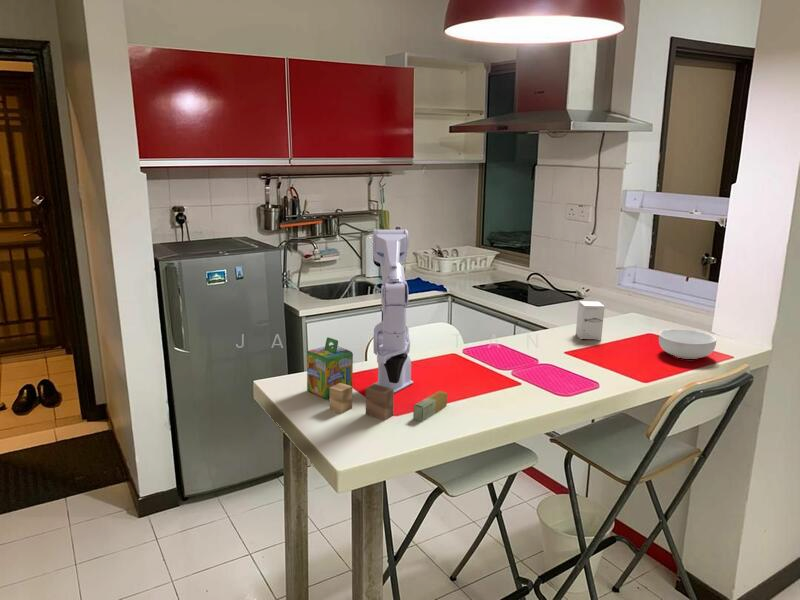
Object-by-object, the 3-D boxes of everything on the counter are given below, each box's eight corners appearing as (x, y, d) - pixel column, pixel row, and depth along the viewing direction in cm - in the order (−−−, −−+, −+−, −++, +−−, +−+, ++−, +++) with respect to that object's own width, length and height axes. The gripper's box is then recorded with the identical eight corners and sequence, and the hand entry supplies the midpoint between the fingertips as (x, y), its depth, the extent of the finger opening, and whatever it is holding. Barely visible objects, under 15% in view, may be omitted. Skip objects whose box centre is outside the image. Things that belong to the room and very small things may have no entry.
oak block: (340, 404, 155) (340, 382, 154) (352, 408, 153) (352, 386, 152) (329, 409, 152) (329, 387, 151) (341, 413, 150) (341, 391, 149)
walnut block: (374, 409, 153) (374, 383, 151) (393, 415, 149) (393, 389, 147) (365, 414, 150) (365, 388, 148) (384, 420, 146) (385, 393, 145)
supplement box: (580, 340, 211) (583, 305, 208) (575, 334, 218) (578, 300, 215) (601, 340, 210) (605, 305, 207) (595, 334, 217) (599, 300, 214)
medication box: (421, 422, 146) (422, 407, 145) (412, 419, 147) (412, 404, 146) (447, 406, 155) (448, 392, 154) (438, 403, 157) (439, 389, 156)
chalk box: (306, 391, 164) (304, 339, 160) (333, 382, 170) (332, 332, 167) (327, 400, 158) (326, 347, 154) (354, 391, 164) (353, 339, 160)
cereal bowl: (676, 345, 206) (679, 325, 205) (724, 359, 193) (727, 338, 191) (646, 353, 197) (648, 333, 196) (693, 368, 184) (696, 346, 182)
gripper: (393, 321, 157) (392, 370, 160) (365, 335, 145) (366, 388, 148) (417, 325, 154) (416, 375, 157) (392, 340, 142) (391, 393, 145)
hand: (394, 382), depth 152 cm, fingers closed
